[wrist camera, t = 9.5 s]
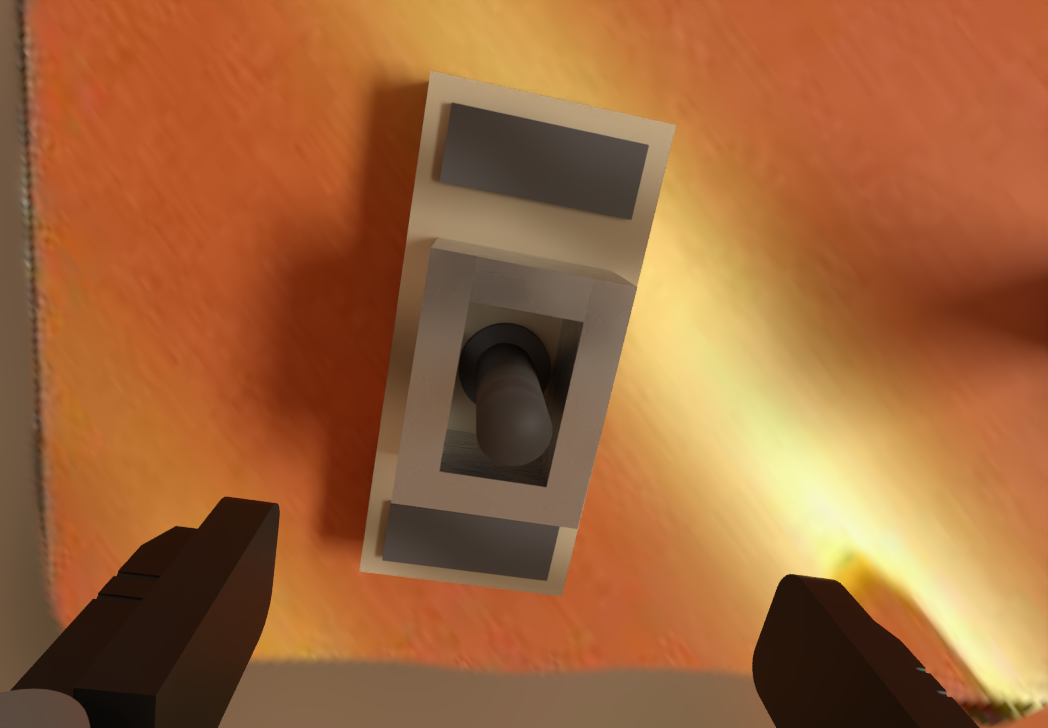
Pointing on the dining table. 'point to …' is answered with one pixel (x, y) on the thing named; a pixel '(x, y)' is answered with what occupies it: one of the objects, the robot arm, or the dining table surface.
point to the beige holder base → (500, 333)
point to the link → (572, 399)
